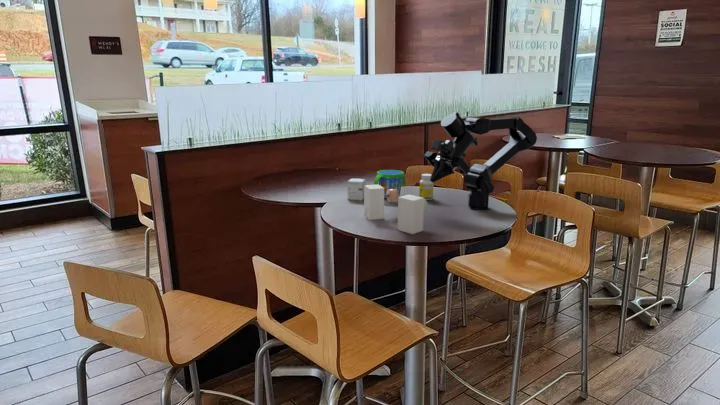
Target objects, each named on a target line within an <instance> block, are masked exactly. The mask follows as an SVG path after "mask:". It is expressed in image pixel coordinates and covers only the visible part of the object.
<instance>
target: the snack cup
mask: <svg viewBox="0 0 720 405" xmlns="http://www.w3.org/2000/svg"><path fill="white" fill-rule="evenodd" d="M377 184H378V185H380V186H382V187H383V188H384V194H386V193H387V190H388V189H397V190H398V194H399V197H401V196H400V195H401V189H402V187H406V186H407V177H406V174H405V173H404V171H402V170H396V169H380V170H378V171H376V176H375V179H374V181H373V185H377ZM385 199H386V200H387V198H385Z"/></svg>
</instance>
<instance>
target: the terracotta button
mask: <svg viewBox="0 0 720 405" xmlns="http://www.w3.org/2000/svg"><path fill="white" fill-rule="evenodd" d="M398 197H400V196H399V194H398V190H397V189H388V190H387V193H386V194H384V199H386V198H387V199H386V200H387V203H398Z"/></svg>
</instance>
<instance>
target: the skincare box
mask: <svg viewBox="0 0 720 405" xmlns="http://www.w3.org/2000/svg"><path fill="white" fill-rule="evenodd" d="M364 185H367V179H366V178H350V179H349V180H347V200H352V201H363V200H364Z"/></svg>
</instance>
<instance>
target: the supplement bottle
mask: <svg viewBox="0 0 720 405" xmlns="http://www.w3.org/2000/svg"><path fill="white" fill-rule="evenodd" d="M431 176H432V174H431V173H422V174H421V179H420V181H419V196H418V197H423V198H424V199H425V200H426V201H431V200H433V199H434V182H431V181H430V179H431Z"/></svg>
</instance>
